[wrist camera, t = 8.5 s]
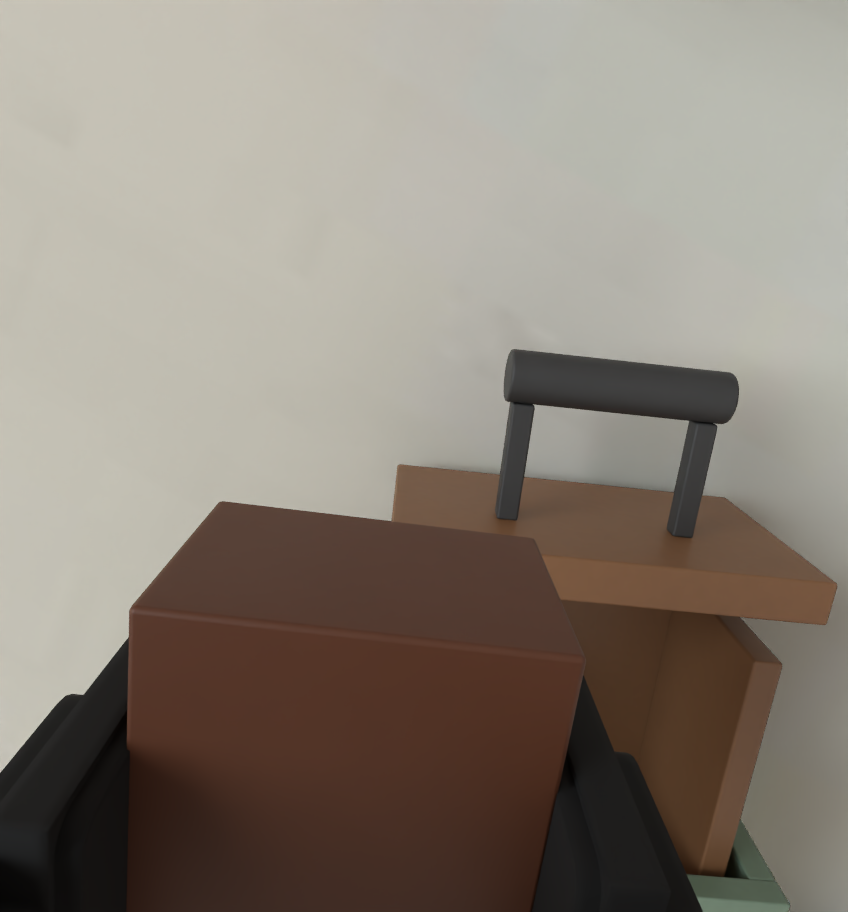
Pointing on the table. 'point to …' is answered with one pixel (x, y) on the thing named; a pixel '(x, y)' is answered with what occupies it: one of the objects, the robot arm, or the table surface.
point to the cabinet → (741, 882)
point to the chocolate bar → (345, 718)
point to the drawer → (647, 585)
